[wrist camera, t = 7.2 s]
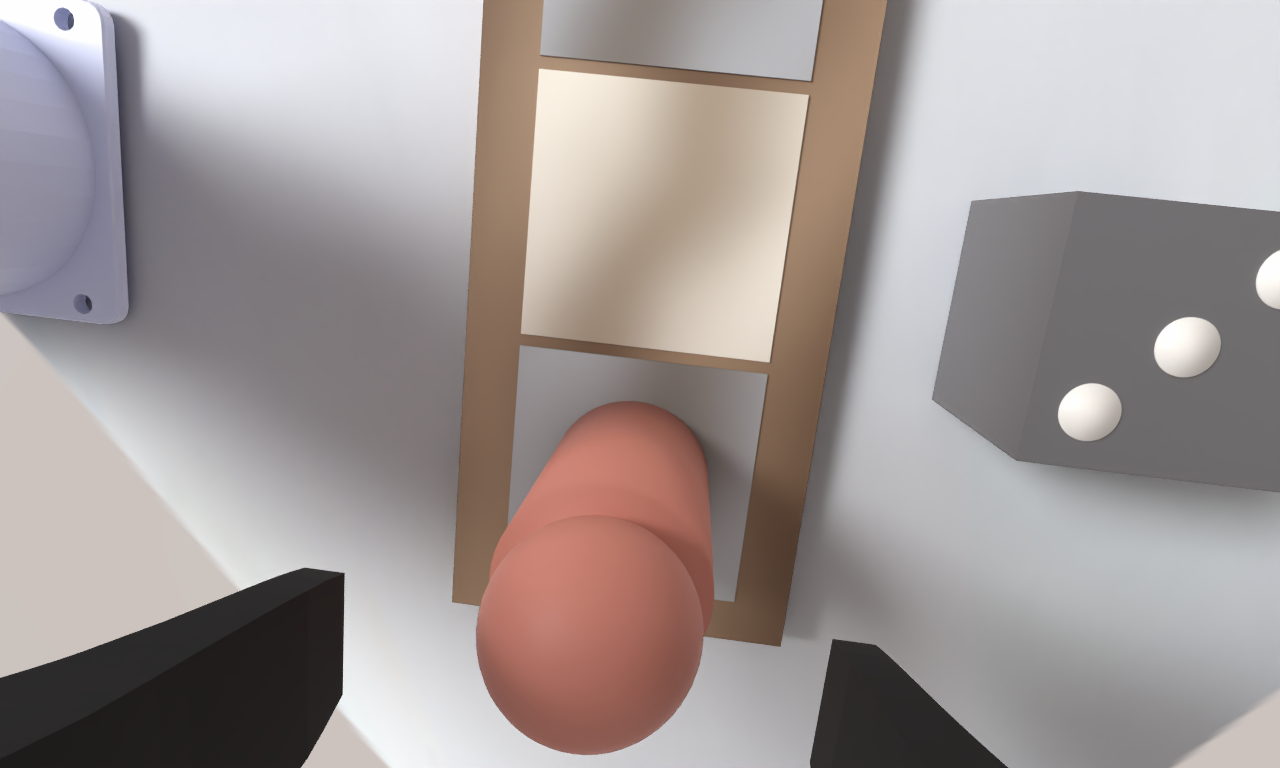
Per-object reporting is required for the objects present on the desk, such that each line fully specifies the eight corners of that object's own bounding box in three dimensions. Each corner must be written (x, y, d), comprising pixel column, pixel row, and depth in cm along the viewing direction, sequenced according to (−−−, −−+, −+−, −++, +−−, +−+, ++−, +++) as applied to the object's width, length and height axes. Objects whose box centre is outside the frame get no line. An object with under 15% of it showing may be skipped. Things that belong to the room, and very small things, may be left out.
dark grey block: (932, 399, 19) (1017, 461, 14) (971, 201, 18) (1080, 191, 13) (1130, 422, 18) (1289, 494, 13) (1183, 223, 17) (1377, 221, 12)
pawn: (548, 538, 19) (424, 803, 10) (558, 392, 18) (433, 547, 9) (698, 557, 19) (701, 843, 10) (717, 410, 18) (737, 586, 9)
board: (463, 584, 21) (451, 603, 20) (533, -672, 15) (521, -739, 14) (776, 626, 20) (780, 647, 19) (984, -651, 14) (1006, -719, 13)
